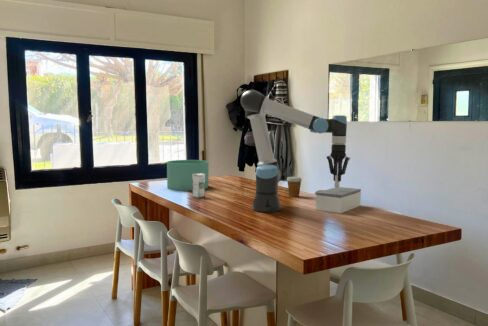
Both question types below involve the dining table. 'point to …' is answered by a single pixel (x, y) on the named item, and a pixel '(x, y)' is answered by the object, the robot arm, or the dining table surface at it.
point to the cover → (338, 192)
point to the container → (185, 173)
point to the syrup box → (198, 185)
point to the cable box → (338, 202)
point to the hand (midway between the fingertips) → (336, 187)
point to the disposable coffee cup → (294, 186)
